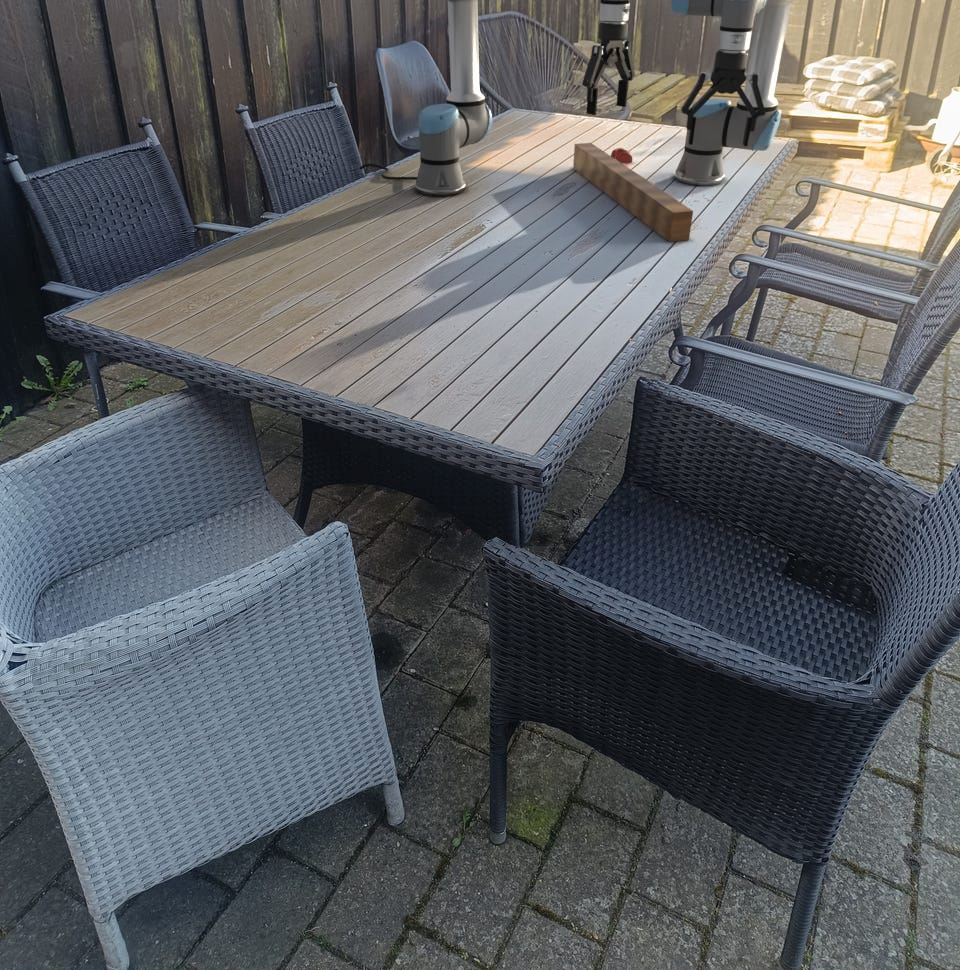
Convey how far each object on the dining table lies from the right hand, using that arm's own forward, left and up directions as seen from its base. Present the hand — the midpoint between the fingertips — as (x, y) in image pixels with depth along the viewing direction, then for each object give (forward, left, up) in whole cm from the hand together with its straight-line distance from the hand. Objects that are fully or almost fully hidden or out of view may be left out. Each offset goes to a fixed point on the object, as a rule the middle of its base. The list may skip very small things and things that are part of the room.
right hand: (717, 144), depth 213 cm
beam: (-21, -26, -23) cm, 41 cm away
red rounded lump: (-62, -37, -23) cm, 76 cm away
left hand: (-13, -32, +3) cm, 35 cm away
